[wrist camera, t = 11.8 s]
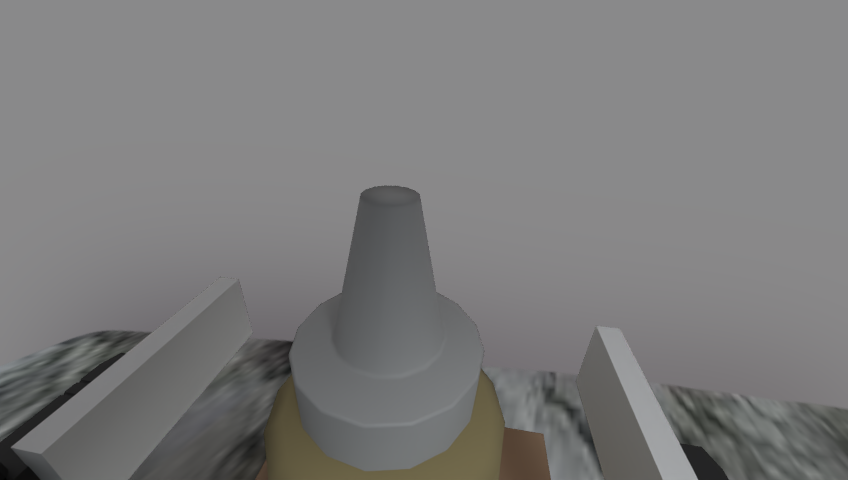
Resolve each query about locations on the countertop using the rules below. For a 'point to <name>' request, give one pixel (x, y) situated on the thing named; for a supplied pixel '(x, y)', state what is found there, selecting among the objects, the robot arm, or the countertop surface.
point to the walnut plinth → (508, 457)
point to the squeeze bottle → (386, 369)
